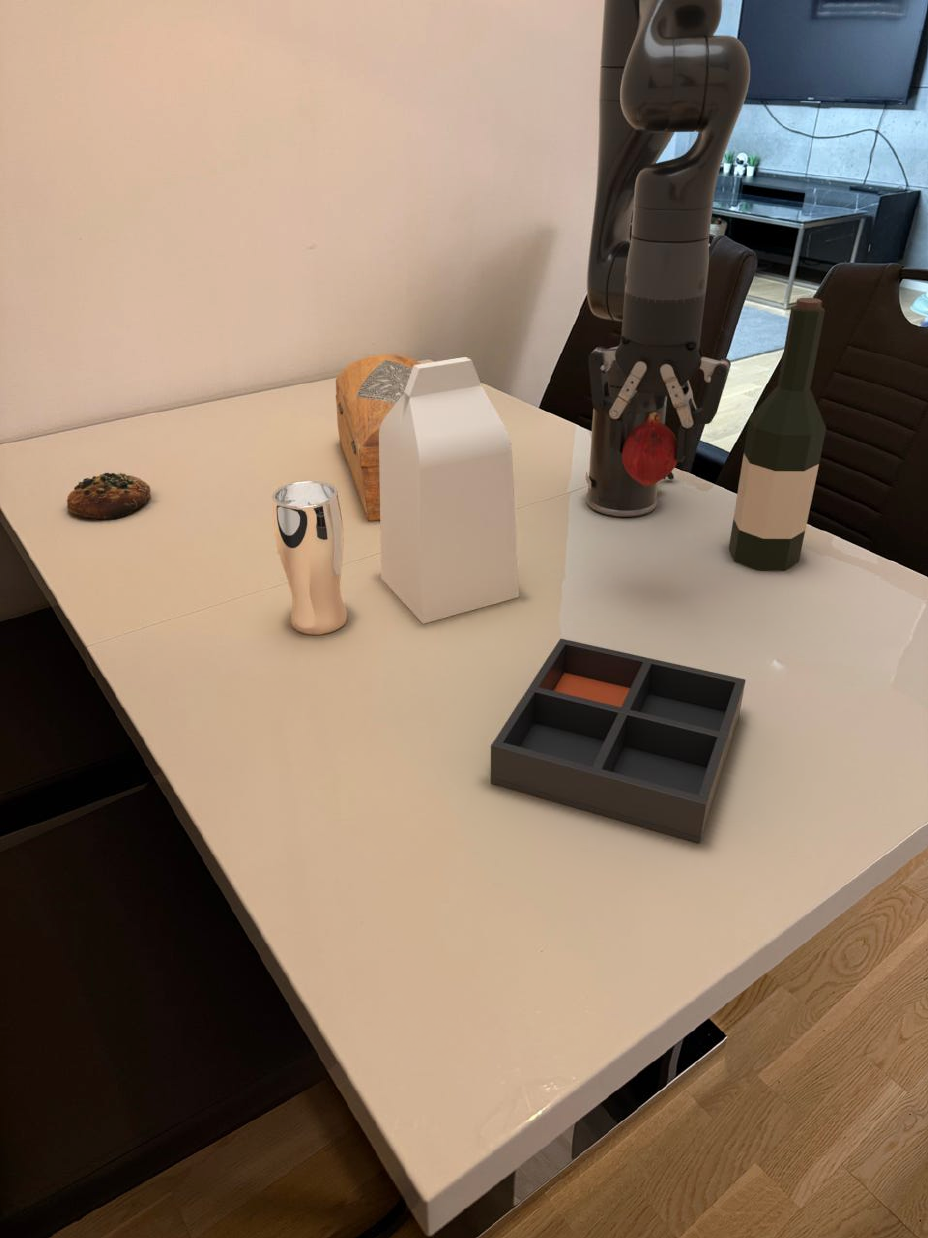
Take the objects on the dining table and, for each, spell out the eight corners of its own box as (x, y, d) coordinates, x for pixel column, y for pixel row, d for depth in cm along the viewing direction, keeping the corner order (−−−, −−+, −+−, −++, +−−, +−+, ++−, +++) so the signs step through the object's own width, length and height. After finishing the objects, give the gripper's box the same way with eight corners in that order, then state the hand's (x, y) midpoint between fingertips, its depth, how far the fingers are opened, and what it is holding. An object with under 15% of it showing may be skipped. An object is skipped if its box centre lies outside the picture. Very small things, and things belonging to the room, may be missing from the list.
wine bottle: (803, 547, 113) (855, 295, 97) (794, 577, 107) (847, 312, 91) (735, 534, 116) (774, 288, 100) (721, 563, 110) (761, 305, 94)
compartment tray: (558, 672, 91) (560, 637, 89) (739, 715, 85) (745, 679, 82) (490, 783, 77) (490, 745, 75) (699, 843, 71) (706, 804, 69)
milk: (423, 623, 99) (412, 387, 85) (381, 578, 108) (365, 357, 94) (518, 596, 104) (523, 368, 90) (471, 555, 112) (469, 341, 99)
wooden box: (483, 510, 123) (483, 410, 116) (361, 523, 120) (353, 421, 113) (440, 433, 148) (438, 347, 141) (338, 442, 145) (331, 355, 138)
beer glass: (289, 605, 103) (273, 481, 95) (352, 602, 103) (340, 478, 95) (284, 639, 97) (266, 509, 89) (350, 635, 97) (338, 506, 89)
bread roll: (98, 527, 120) (88, 490, 118) (53, 516, 126) (43, 481, 124) (169, 501, 127) (160, 466, 125) (123, 493, 134) (115, 459, 132)
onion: (674, 499, 94) (683, 425, 90) (618, 495, 95) (623, 422, 91) (674, 476, 99) (682, 405, 95) (621, 473, 100) (626, 402, 96)
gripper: (749, 283, 87) (726, 451, 96) (602, 273, 92) (593, 433, 101) (736, 302, 81) (712, 478, 90) (579, 290, 86) (572, 458, 95)
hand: (649, 454), depth 95 cm, fingers closed on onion, 6 cm apart
